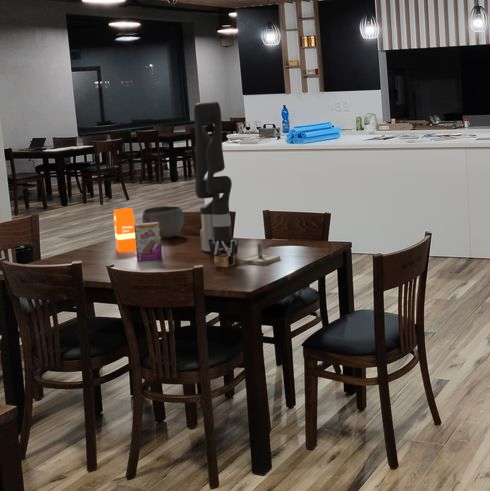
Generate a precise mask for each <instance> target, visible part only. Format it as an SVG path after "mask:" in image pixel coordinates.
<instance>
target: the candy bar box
mask: <svg viewBox="0 0 490 491" xmlns="http://www.w3.org/2000/svg"><path fill="white" fill-rule="evenodd" d="M134 228H135V240H136V260H137V262H148V261H149V262H151V261H158V260H159V261H160V260H163V252H162V239H161V237H160V224H159V222H153V223H143V222H142V223H135V224H134Z"/></svg>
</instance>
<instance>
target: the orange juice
mask: <svg viewBox="0 0 490 491" xmlns="http://www.w3.org/2000/svg"><path fill="white" fill-rule="evenodd" d="M134 224H136V220H135V216H134V210H133V207H126V208H115V209H113V226H114V235H115V236H114V237H115V247H116V251H117V252H118V253H127V252H135V251H136V240H135V228H134Z"/></svg>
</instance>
